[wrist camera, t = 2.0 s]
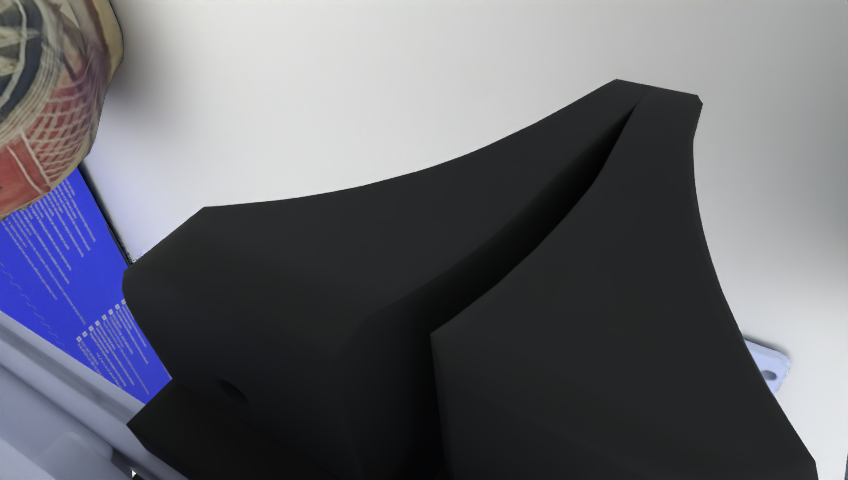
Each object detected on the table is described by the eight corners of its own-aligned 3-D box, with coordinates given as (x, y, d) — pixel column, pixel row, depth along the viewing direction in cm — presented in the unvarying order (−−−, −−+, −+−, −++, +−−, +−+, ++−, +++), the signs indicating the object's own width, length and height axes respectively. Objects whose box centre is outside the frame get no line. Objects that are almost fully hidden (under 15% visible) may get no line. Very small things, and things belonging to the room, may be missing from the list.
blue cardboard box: (-24, 58, 44) (-348, 205, 33) (51, 94, 41) (-278, 268, 30) (143, 351, 72) (-2, 483, 61) (194, 385, 69) (51, 529, 58)
